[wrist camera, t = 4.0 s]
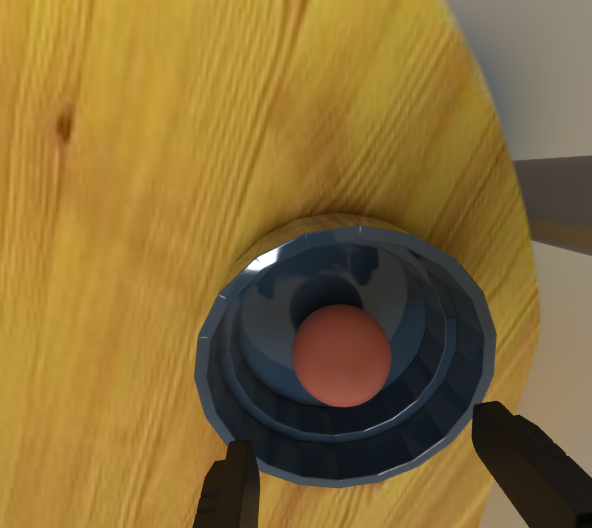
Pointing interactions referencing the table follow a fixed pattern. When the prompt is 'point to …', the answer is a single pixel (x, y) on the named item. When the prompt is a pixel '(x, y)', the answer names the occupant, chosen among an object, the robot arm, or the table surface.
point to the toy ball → (341, 355)
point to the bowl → (385, 310)
